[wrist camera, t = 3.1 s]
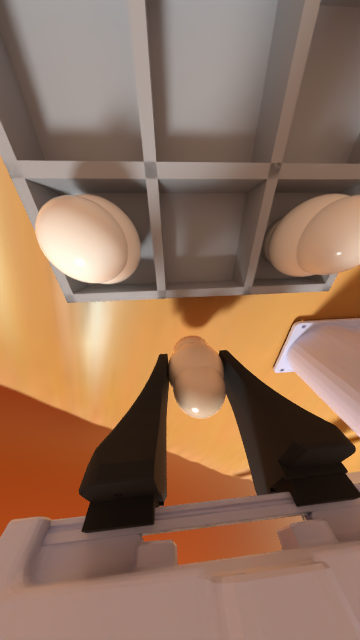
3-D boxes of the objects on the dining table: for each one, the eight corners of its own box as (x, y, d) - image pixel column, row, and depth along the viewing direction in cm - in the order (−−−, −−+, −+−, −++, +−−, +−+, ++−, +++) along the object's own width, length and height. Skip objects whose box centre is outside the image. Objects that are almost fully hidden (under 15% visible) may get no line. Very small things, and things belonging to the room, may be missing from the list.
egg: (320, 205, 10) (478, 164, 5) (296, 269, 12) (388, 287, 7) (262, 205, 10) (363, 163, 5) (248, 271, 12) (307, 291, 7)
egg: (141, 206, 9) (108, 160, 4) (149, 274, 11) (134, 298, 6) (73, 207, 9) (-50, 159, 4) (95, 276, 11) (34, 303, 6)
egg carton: (410, 6, 7) (550, -133, 4) (299, 282, 13) (328, 290, 11) (-27, -29, 6) (-180, -243, 3) (88, 291, 12) (67, 302, 10)
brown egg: (216, 328, 12) (249, 388, 7) (211, 364, 14) (234, 429, 9) (166, 331, 12) (163, 395, 7) (169, 367, 14) (169, 435, 9)
